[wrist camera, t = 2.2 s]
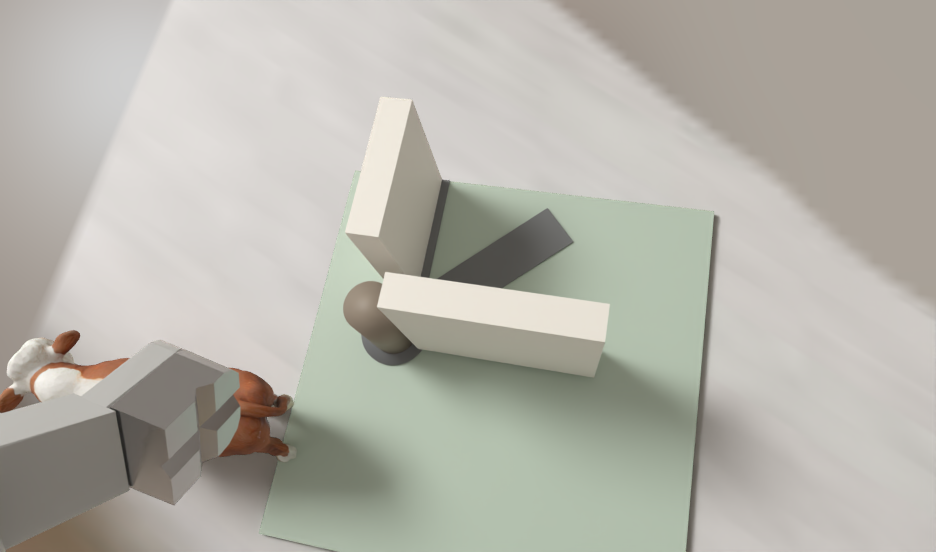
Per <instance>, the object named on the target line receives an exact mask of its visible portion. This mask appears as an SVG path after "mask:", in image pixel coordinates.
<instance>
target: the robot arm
mask: <svg viewBox="0 0 936 552" xmlns="http://www.w3.org/2000/svg"><path fill="white" fill-rule="evenodd" d="M239 388H240V383H239V373H238V372H236V371H234V370H232V369H230V368H227V367H225V366H222V365H220V364H218V363H215V362H213V361H211V360H208V359H206V358H204V357H201V356H199V355H197V354H194V353H192V352H190V351H187V350H184V349H182V348H180V347H177V346H175V345H172V344H170V343H167V342H165V341H163V340H158V341H154V342H151V343H149V344H148V345H146V346H145V347H144V348H143V349H141V350H140V351H139V352H137V353H136V354H135V355H133V356H132V357H131V358H130V359H128V360H127V361H126V362H124V363H123V364H122V365H121V366H119V367H118V368H117V369H115V370H114V371H113V372H112V373H110V374H109V375H108V376H106V377H105V378H104V379H103V380H101V381H100V382H99V383H97V384H96V385H95V386H93V387H92V388H91V389H90V390H88V391H87V392H86V393H84V394H83V395H82V396H79V395H77V394H74V393H73V394H69V395H66V396H62V397H59V398H55V399H51V400H48V401H44V402H41V403H37V404H33V405H30V406H26V407H23V408H19V409H15V410H12V411H8V412H5V413H1V414H0V552H6V551H5V550H6V549H8V548H10V547H13V546H15V545H17V544H19V543H21V542H23V541H25V540H27V539H29V538H31V537H33V536H36V535H38V534H40V533H42V532H44V531H46V530H48V529H50V528H52V527H54V526H56V525H58V524H61V523H63V522H65V521H67V520H69V519H71V518H73V517H75V516H77V515H79V514H81V513H83V512H86V511H88V510H90V509H92V508H94V507H96V506H98V505H100V504H102V503H104V502H106V501H109V500H111V499H113V498H115V497H117V496H119V495H121V494H123V493H125V492H127V491H129V490H130V489H129V487H130V488H133V489H135V490H137V491H140V492H142V493H145V494H147V495H150V496H152V497H155V498H157V499H159V500H162V501H164V502H167V503H169V504H172V505H175V504H176V503H177V502H178V501H179V500H180V499H181V498H182V496H183V495H184V494H185V493H186V492H187V491H188V490H189V489H190V488H191V486H192V485H193V484H194V483H195V482H196V481H197V480H198V479H199V478H200V477H201V469H202V463H203V462H205V461H208V460H211V459H213V458H216V457H218V456H219V455H220V454H221V453H222V452H223V451H224V449H225V448H226V447H227V446H228V445H229V443H230V441H231V440H232V438H233V436H234V434H235V432H236V430H237V428H238V424H239V420H240V405H239V403H238V401H237V400H236V398H235V397H234V395H233V394H234V393H235V392H236V391H237V390H238V389H239Z"/></svg>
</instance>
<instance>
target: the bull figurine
mask: <svg viewBox="0 0 936 552" xmlns="http://www.w3.org/2000/svg"><path fill="white" fill-rule="evenodd" d="M79 338H80V333H79V332H77V331H75V330H72V331H68V332H65V333H62V334H60V335H59V336H58V337H57V338H56V340H55V341H52V340H49V339H45V338H35V339H31V340H28V341H27V342H26V343H25V344H24V345H23V346H22V347H21V349H20V350H19V351H18V352H17V353H16V354H14V355H13V357H12V358H11V360H10V361H9V363H8V367H7V375H8V377H10V378H11V379H12V380H13V381H14V383H13V384H12V385H11V386H10V387H8V388H7V389H5V390H4V391H3V393H2V394H1V395H0V413H5V412H8V411H11V410H13V409H14V408H15V407H16V406H17V405H18V404H19V403H20V402H21V401H22V399H23V396H24V395H25V394H26V393H27V392H30V393H33V394H34V395H35V396H36V398H37V399H38V400H39V401H40V402H44V401H48V400H51V399H55V398H59V397H62V396H66V395H69V394H73V393H74V394H77V395H79V396H82V395H83V394H84V393H86V392H87V391H88V390H90V389H91V388H92V387H93V386H95V385H96V384H97V383H99V382H100V381H101V380H103V379H104V378H105V377H106V376H108V375H109V374H110V373H112V372H113V371H114V370H115V369H117V368H118V367H119V366H121V365H122V364H123V363H124V362H126V361H127V360H128V359H130V358H123V359H117V360H113V361H105V362H102V363H99V364H96V365H90V366H81V365H77V364H75V363H74V360H73V357H72V355H71V354H70V353H69V352H68V351H69V350H70V349H71V348H72V347H73V346H74V345H75V344H76V343H77V341H78V340H79ZM230 369H232V370H234V371H236V372H238V373H239V383H240V388H239V389H238V390H237V391H236V392H235V393H234V394H233V395H234V397H235V398H236V400H237V401H238V403H239V405H240V420H239V424H238V428H237V430H236V432H235V434H234V436H233V438H232V440H231V441H230V443H229V445H228V446H227V447H226V448H225V449H224V451H223V452H222V453H221V454H220V455H219V456H218V457H224V456H231V455H246V454H251V453H253V452H260V453H269V454H271V455H273V456H276V457H277V459H278V460H279V461H281V462H288V461H289V460H290V459H294V458H296V453H297V449H296V448H295V447H293V446H290V445H288V444H284V443H282V441H281V440H280V439H278V438H273V437H270V426H269V423H268V421H267V417H273V416H280V415H282V414H284V413H285V412H286V411H287V410H289V408H291V407H293V406H294V402H293V400H292V397H291V396H289V395H285V394H283V395H281V396H279V397H277V395H275V394H274V393H273V390H272V388H271V386H270V385H269V384H268V383H267V382H265V381H264V380H263V379H262V378H260V377H258V376H257V375H255V374H253V373H251V372H248V371H242V370H239V369H235V368H230ZM274 406H275V407H274Z"/></svg>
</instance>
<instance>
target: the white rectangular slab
mask: <svg viewBox="0 0 936 552" xmlns="http://www.w3.org/2000/svg"><path fill="white" fill-rule="evenodd" d="M377 308H378V309H379V310H380V311H381V312H382V313H383V314H384V315H385V316H386V317H387V318H388V319H389V320H390V321H391V322H392V323H393V324H394V325H395V326H396V327H397V328H398V329H399V330H400V331H401V332H402V333H403V334H404V335H405V336H406V337H407V338H408V339H409V340H410V341H411V342H412V343H413V344H414V345H415V346H416V347H417V348H418V349H422V350H428V351H434V352H440V353H447V354H453V355H459V356H465V357H471V358H477V359H483V360H489V361H495V362H501V363H507V364H513V365H519V366H526V367H532V368H538V369H544V370H550V371H556V372H562V373H568V374H574V375H580V376H586V377H592V378H594V376H595V373H596V370H597V367H598V363H599V360H600V357H601V354H602V351H603V347H604V344H605V339H606V331H607V324H608V316H609V308H610V304H607V303H600V302H593V301H586V300H579V299H572V298H565V297H558V296H551V295H544V294H537V293H530V292H523V291H516V290H509V289H502V288H495V287H488V286H481V285H474V284H467V283H460V282H453V281H446V280H439V279H432V278H425V277H418V276H411V275H404V274H397V273H390V272H385V275H384V279H383V283H382V288H381V292H380V296H379V300H378V304H377Z"/></svg>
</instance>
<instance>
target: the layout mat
mask: <svg viewBox="0 0 936 552" xmlns="http://www.w3.org/2000/svg"><path fill="white" fill-rule="evenodd" d="M360 173H361V171H355V173H354V177H353V180H352V184H351V188H350V192H349V196H348V199H347V203H346V207H345V211H344V214H343V218H342V222H341V226H340V229H339V233H338V237H337V241H336V244H335V248H334V252H333V256H332V259H331V263H330V267H329V271H328V275H327V278H326V282H325V286H324V290H323V293H322V297H321V301H320V305H319V308H318V312H317V316H316V320H315V323H314V327H313V331H312V335H311V338H310V342H309V346H308V350H307V354H306V357H305V361H304V365H303V369H302V372H301V376H300V380H299V384H298V387H297V391H296V395H295V399H294V406H293V407H292V410H291V414H290V417H289V421H288V425H287V429H286V433H285V436H284V440H283V443H284V444H288V445H290V446H293V447H295V448H296V449H297V453H296V458H294V459H290V460H289V461H288V462H281V461H279V460H278V463H277V466H276V470H275V474H274V478H273V481H272V485H271V489H270V493H269V496H268V500H267V504H266V508H265V512H264V515H263V519H262V523H261V527H260V530H259V534H263V535H268V536H272V537H276V538H281V539H285V540H289V541H294V542H298V543H302V544H307V545H311V546H315V547H320V548H324V549H328V550H333V551H337V552H686V543H687V531H688V519H689V507H690V495H691V483H692V471H693V459H694V447H695V435H696V423H697V411H698V399H699V387H700V375H701V363H702V351H703V339H704V328H705V316H706V304H707V292H708V280H709V268H710V256H711V244H712V232H713V220H714V211H706V210H697V209H689V208H680V207H671V206H662V205H653V204H645V203H636V202H627V201H618V200H609V199H601V198H592V197H583V196H574V195H565V194H557V193H548V192H539V191H530V190H521V189H513V188H504V187H495V186H486V185H477V184H469V183H460V182H451V181H449V180H442V182H441V187H440V191H439V196H438V200H437V205H436V210H435V214H434V219H433V223H432V228H431V232H430V237H429V241H428V246H427V250H426V255H425V259H424V264H423V268H422V273H421V277H425V278H432V279H439V280H446V281H453V282H460V283H467V284H474V285H481V286H488V287H495V288H502V289H509V290H516V291H523V292H530V293H537V294H544V295H551V296H558V297H565V298H572V299H579V300H586V301H593V302H600V303H607V304H610V308H609V316H608V324H607V331H606V339H605V344H604V347H603V351H602V354H601V357H600V360H599V363H598V367H597V370H596V373H595V376H594V378H592V377H586V376H580V375H574V374H568V373H562V372H556V371H550V370H544V369H538V368H532V367H526V366H519V365H513V364H507V363H501V362H495V361H489V360H483V359H477V358H471V357H465V356H459V355H453V354H447V353H440V352H434V351H428V350H422V349H418V348H417V347H416V346H415V345H414V344H413V343H412V345H411V346H410V347H409V348H408V349H406V350H405V351H403V352H400V353H396V354H390V353H386V352H383V351H382V350H380V349H379V348H378V347H377V346H375V345H374V344H373V343H371V342H370V341H369V340H368V339H366V338H365V337H364V336H363V335H361V334H360V333H359V332H358V331H356V330H355V329H354V328H353V327H351V326H350V325H349V324H348V322H347V321H346V319H345V317H344V313H343V304H344V300H345V298H346V296H347V294H348V293H349V291H350V290H351V289H352V288H353V287H355V286H356V285H358V284H360V283H362V282H366V281H376V282H379V283H383V278H382V277H381V276H380V275H379V273H378V272H377V271H376V270H375V269H374V267H373V266H372V265H371V264H370V262H369V261H368V260H367V259H366V258H365V256H364V255H363V254H362V253H361V252H360V250H359V249H358V248H357V247H356V246H355V244H354V243H353V242H352V241H351V240H350V238H349V237H348V236H347V235H346V233H345V230H346V226H347V222H348V218H349V215H350V211H351V207H352V203H353V199H354V196H355V192H356V188H357V184H358V180H359V177H360Z"/></svg>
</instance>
